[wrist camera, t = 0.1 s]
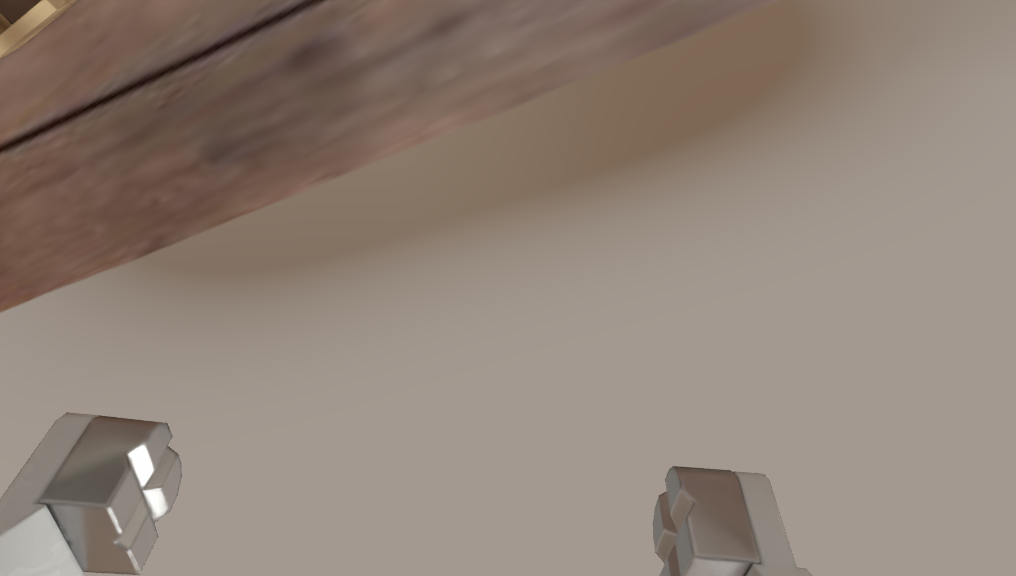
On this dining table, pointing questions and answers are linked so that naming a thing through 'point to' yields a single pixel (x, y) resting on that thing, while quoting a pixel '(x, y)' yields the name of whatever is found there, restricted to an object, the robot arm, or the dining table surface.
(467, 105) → the dining table surface
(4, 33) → the rack
